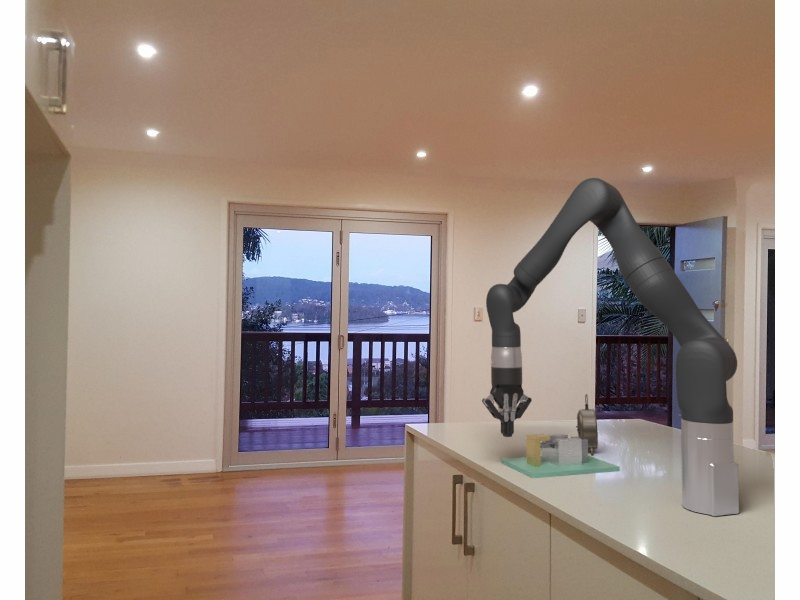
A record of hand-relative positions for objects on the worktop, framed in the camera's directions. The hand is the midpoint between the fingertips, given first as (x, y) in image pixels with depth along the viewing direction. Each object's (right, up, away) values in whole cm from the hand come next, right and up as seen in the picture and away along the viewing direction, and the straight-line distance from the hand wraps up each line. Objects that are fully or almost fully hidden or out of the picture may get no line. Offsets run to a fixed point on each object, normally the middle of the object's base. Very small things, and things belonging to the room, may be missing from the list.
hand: (507, 436), depth 151 cm
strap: (+14, -3, +5) cm, 15 cm away
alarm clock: (+26, -9, +22) cm, 35 cm away
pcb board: (+14, -9, +4) cm, 17 cm away
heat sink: (+16, -8, +5) cm, 18 cm away
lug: (+8, -7, +3) cm, 11 cm away
